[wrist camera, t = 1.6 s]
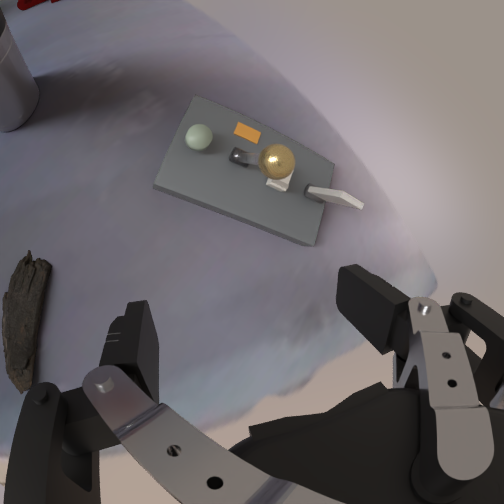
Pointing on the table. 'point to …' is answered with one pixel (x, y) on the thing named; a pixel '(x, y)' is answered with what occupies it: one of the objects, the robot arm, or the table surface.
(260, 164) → the brass lever
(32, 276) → the wood
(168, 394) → the table surface
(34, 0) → the mechanical linkage
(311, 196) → the pale grey paddle
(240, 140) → the control panel
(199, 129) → the push button
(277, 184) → the white rocker switch
